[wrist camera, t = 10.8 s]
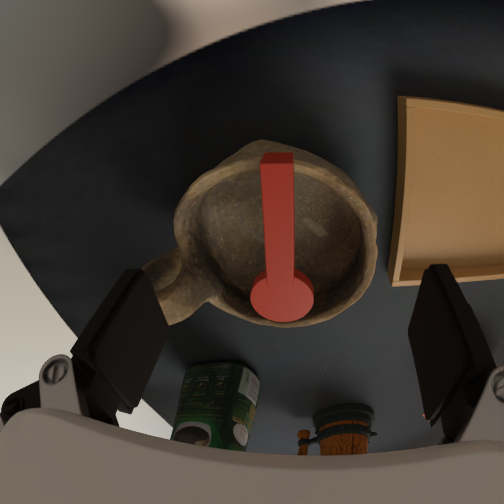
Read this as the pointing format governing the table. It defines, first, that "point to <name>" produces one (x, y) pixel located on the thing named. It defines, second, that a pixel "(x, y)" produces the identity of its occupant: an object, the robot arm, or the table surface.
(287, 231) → the red spoon
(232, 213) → the bowl
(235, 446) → the coffee jar
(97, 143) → the table surface
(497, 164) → the tray
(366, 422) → the mug
